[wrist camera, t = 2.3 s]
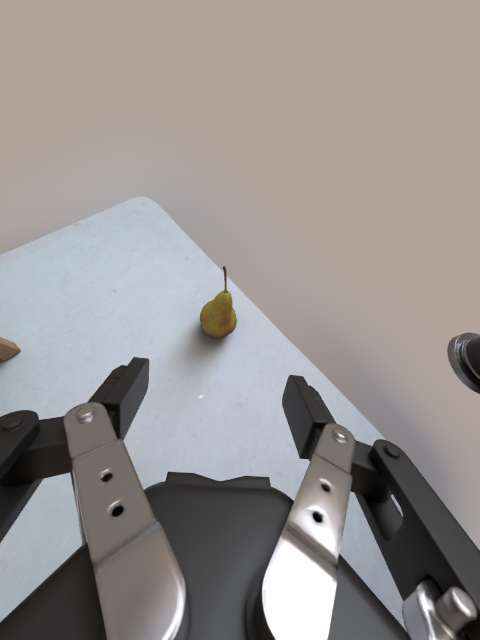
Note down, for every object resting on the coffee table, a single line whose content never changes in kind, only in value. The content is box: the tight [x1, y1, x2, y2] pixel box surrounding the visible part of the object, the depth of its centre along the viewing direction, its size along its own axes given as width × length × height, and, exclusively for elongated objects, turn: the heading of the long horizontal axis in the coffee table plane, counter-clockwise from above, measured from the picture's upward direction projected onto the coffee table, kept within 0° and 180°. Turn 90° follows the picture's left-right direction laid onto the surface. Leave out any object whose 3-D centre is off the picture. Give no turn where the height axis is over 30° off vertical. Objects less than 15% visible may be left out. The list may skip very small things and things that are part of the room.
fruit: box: [200, 267, 237, 338], centre depth 31 cm, size 6×6×12 cm
